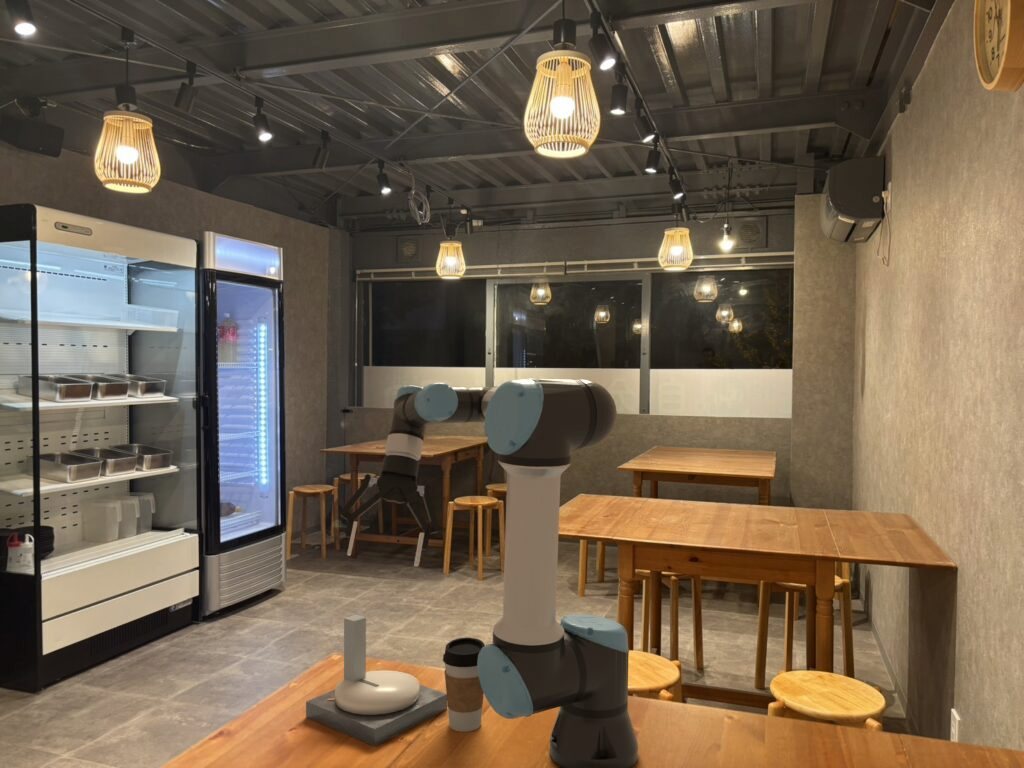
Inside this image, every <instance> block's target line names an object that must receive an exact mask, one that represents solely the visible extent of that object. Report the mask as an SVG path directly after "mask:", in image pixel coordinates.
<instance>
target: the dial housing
mask: <svg viewBox="0 0 1024 768" xmlns="http://www.w3.org/2000/svg"><path fill="white" fill-rule="evenodd" d="M447 710H448V703H447V692H443V691H440V690H437V689H434V688H432V687H428V686H424V685H421V684H419V698H418V700H417V701H416V702H415V703H414V704H412V705H411V706H409V707H407V708H405V709H402V710H399V711H396V712H392V713H386V714H378V715H363V714H355V713H351V712H347V711H345V710H343V709H341V708H339V707H338V706H337V705H336V703H335V689H333V690H330V691H329V692H326V693H323V694H321V695H319V696H315V697H314V698H311V699H308V700H306V702H305V718H308V719H309V718H310V719H309V720H312V719H313V720H312V721H314V722H316V721H317V723H318V724H322V725H323V724H324V726H326V727H329V728H331V729H334V730H336V731H338V732H340V733H342V734H345V735H347V736H350V737H353V738H354V739H356V740H359V741H361V742H364V743H367V744H369V745H371V746H373V747H376V746H378V745H380V744H382V743H384V742H387V741H388V740H390V739H392V738H394V737H397V736H398V735H400V734H402V733H404V732H406V731H408V730H409V729H411V728H413V727H416V726H417V725H419V724H422V723H423V722H425V721H427V720H429V719H431V718H432V717H435V716H437V715H439V714H440V713H442V712H445V711H447Z"/></svg>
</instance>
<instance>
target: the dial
mask: <svg viewBox="0 0 1024 768" xmlns="http://www.w3.org/2000/svg"><path fill="white" fill-rule="evenodd" d="M366 650H367V617H366V616H362V615H360V614H353V615H351V616H347V617H343V679H342V680H341V681H339V682H338V683H337V684H336V686H335V688H334V690H335V703H336V705H337V706H338V707H339V708H341V709H343V710H345V711H347V712H351V713H355V714H363V715H378V714H386V713H392V712H396V711H399V710H402V709H405V708H407V707H409V706H411V705H412V704H414V703H415V702H416V701H417V700H418V698H419V685H420V682H419V679H417V678H416V676H413V675H412V674H409V673H407V672H402V671H396V670H385V669H383V670H371V671H370V670H369V671H367V664H366V662H367V660H366V659H367V658H366V657H367V651H366Z"/></svg>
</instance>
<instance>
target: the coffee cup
mask: <svg viewBox="0 0 1024 768" xmlns="http://www.w3.org/2000/svg"><path fill="white" fill-rule="evenodd" d="M485 646H486V645H485V643H484V642H483V641H482V640H481V639H479V638H475V637H474V638H473V637H459V638H455V639H452V640H451V641H449V642H448V643H447V644H446V645H445V650H444V653H443V656H442V661H443V663H444V681H445V691H446V692H445V693H446V694H447V710H448V724H449V727H450V729H452V730H453V731H457V732H459V733H460V732H462V733H463V732H465V733H467V732H473V731H475V730H478V729H479V728H480V727H481V726H482V725H481V724H482V719H483V718H482V715H483V706H484V705H483V704H484V703H483V702H484V696H485V694H484V692H483V690H482V687H481V684H480V680H479V676H478V668H477V660H478V655H479V652H480V651H481V649H482V648H483V647H485Z"/></svg>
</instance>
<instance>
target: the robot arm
mask: <svg viewBox="0 0 1024 768" xmlns="http://www.w3.org/2000/svg"><path fill="white" fill-rule="evenodd" d="M617 413H618V412H617V405H616V402H615V400H614V398H613V395H611V393H610V392H609V391H608V389H606V388H605V387H604V386H603V385H601V384H599V383H597V382H595V381H592V380H588V379H582V378H581V379H577V378H576V379H575V378H573V379H568V378H567V379H564V378H563V379H559V378H558V379H557V378H556V379H554V378H551V379H550V378H531V377H529V378H524V379H523V378H522V379H512V380H507V381H505V382H504V383H502V384H500V385H499V386H497V385H496V386H492V385H491V386H450V385H449V384H448V383H445V382H434V383H431V384H428V385H425V386H424V387H421V386H417V385H409V384H408V385H403V386H401V387H399V388H398V390H397V392H396V395H395V399H394V400H393V410H392V414H391V419H390V425H389V429H388V436H387V439H386V440H387V441H386V445H385V450H384V453H385V456H384V457H383V461H382V466H381V470H380V474H379V475H380V476H378V477H374V476H371V474H369V473H366V474H365V475H364V478H363V482H362V484H361V485H360V486H359V488H357V490H356V492H355V493H354V494H353V495H352V497H351V498H350V499H349V501H348V502H347V503H346V504H345V506H344V507H343V508H342V509H341V510H340V515H339V516H340V517H341V518H343V519H344V520H346V521H347V525H346V527H345V528H346V529H345V533H344V535H345V538H349V544H348V548H347V553H346V556H351V555H352V551H353V547H354V543H355V542H354V541H355V536H356V532H357V527H358V521H356V520H357V519H358V518H359V517H361V516H362V515H364V514H365V513H366V512H367V511H368V510H370V509H371V508H372V507H373V506H375V505H377V503H378V502H381V500H384V501H385V502H388V503H396V504H400V505H401V504H404V503H405V505H406V506H407V508H409V510H410V512H411V514H412V515H413V517H414V519H415V521H416V523H417V524H418V525H419V527H420V529H421V531H422V532H419V535H418V541H417V545H416V551H415V557H414V564H413V567H419V565H420V562H421V556H422V551H426V550H427V549H428V546H429V541H430V535H432V534H437V533H438V532H439V531H440V528H441V527H440V526H439V525H440V524H439V521H438V518H437V515H436V511H435V509H434V505H433V501H432V498H431V485H429V484H426V485H418V484H417V479H418V474H419V469H420V468H419V467H420V462H419V461H420V460H421V457H422V452H423V445H424V440H425V436H426V435H425V434H426V429H427V428H428V427H430V426H432V425H436V424H459V423H460V424H462V423H463V424H466V423H484V434H485V435H484V436H485V437H487V439H486V442H487V444H488V446H489V448H490V449H491V450H492V451H493V452H494V453H496V454H497V455H498V457H497V458H498V459H497V462H498V464H499V465H500V466H501V467H502V468H503V469H504V471H505V472H506V474H507V475H506V477H507V478H506V500H505V502H506V505H505V507H506V508H505V535H504V536H505V537H504V539H505V540H504V564H503V565H504V566H503V567H504V570H503V572H504V573H503V593H502V594H503V601H502V617H501V618H500V619H499V620H498V621H497V622H496V623H495V624H494V625H493V628H492V643H488V644H486V645H485V647H483V648H482V649H481V651H480V652H479V655H478V660H477V668H478V676H479V680H480V684H481V687H482V690H483V692H484V696H485V698H486V701H487V702H488V704H489V705H490V706H491V709H492V710H493V711H494V712H495V713H496V714H497V715H498V716H500V717H502V718H504V719H507V720H514V719H517V718H518V719H519V718H522V717H525V718H529V717H531V716H532V715H535V714H538V713H542V712H545V711H550V710H552V709H556V708H559V710H558V712H557V715H556V719H555V722H554V725H553V728H552V731H551V734H550V738H549V755H550V758H551V759H552V761H553V762H554V763H556V765H558V766H560V767H561V768H633V767H634V766H635V765H636V763H637V761H638V759H639V745H638V740H637V737H636V734H635V730H634V726H633V723H632V720H631V716H630V714H629V699H628V698H629V653H630V649H629V643H628V642H629V640H628V638H629V637H628V636H629V635H628V632H627V629H626V628H625V627H624V626H623V625H622V624H621V623H619V622H617V621H615V620H612V619H609V618H605V617H601V616H598V615H597V616H596V615H590V614H568V615H565V616H563V617H562V618H561V619H560V623H559V622H558V621H557V620H556V618H557V617H556V616H557V614H556V611H557V591H558V590H557V589H558V587H557V585H558V584H557V583H558V582H557V581H558V560H559V559H558V558H559V556H558V555H559V554H558V553H559V530H560V527H559V526H560V525H559V524H560V504H561V503H560V502H561V500H560V498H561V497H560V496H561V478H562V477H561V476H562V473H563V472H565V470H567V469H568V468H569V467H570V466H571V456H572V450H584V449H589V448H592V447H595V446H598V445H599V444H601V443H602V442H604V441H605V440H606V439H607V438H608V437H609V436H610V434H611V433H612V432H613V430H614V428H615V425H616V422H617V417H618V416H617ZM374 485H376V487H377V489H378V492H376V493H375V494H374V495H373V496H372V497H371V498H369V499H368V500H367V501H366V502H364V503H363V504H362V505H361V506H360V507H358V508H357V509H356V510H354V511H353V512H352V513H350V511H351V510H353V508H354V506H356V504H357V503H358V501H359V500H360V499H361V498H362V497H363V495H364V494H365V493H366V491H367V489H368V488H372V487H373V486H374ZM416 492H418V493H419V495H420V496H421V497H422V500H423V503H424V507H425V510H426V514H427V517H428V521H429V524H430V526H429V524H428V522H427V521H426V519H425V517H424V516H423V514H422V512H421V511H420V509H419V507H418V505H417V504H416V502H415V500H414V498H413V495H414V494H415V493H416Z"/></svg>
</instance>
